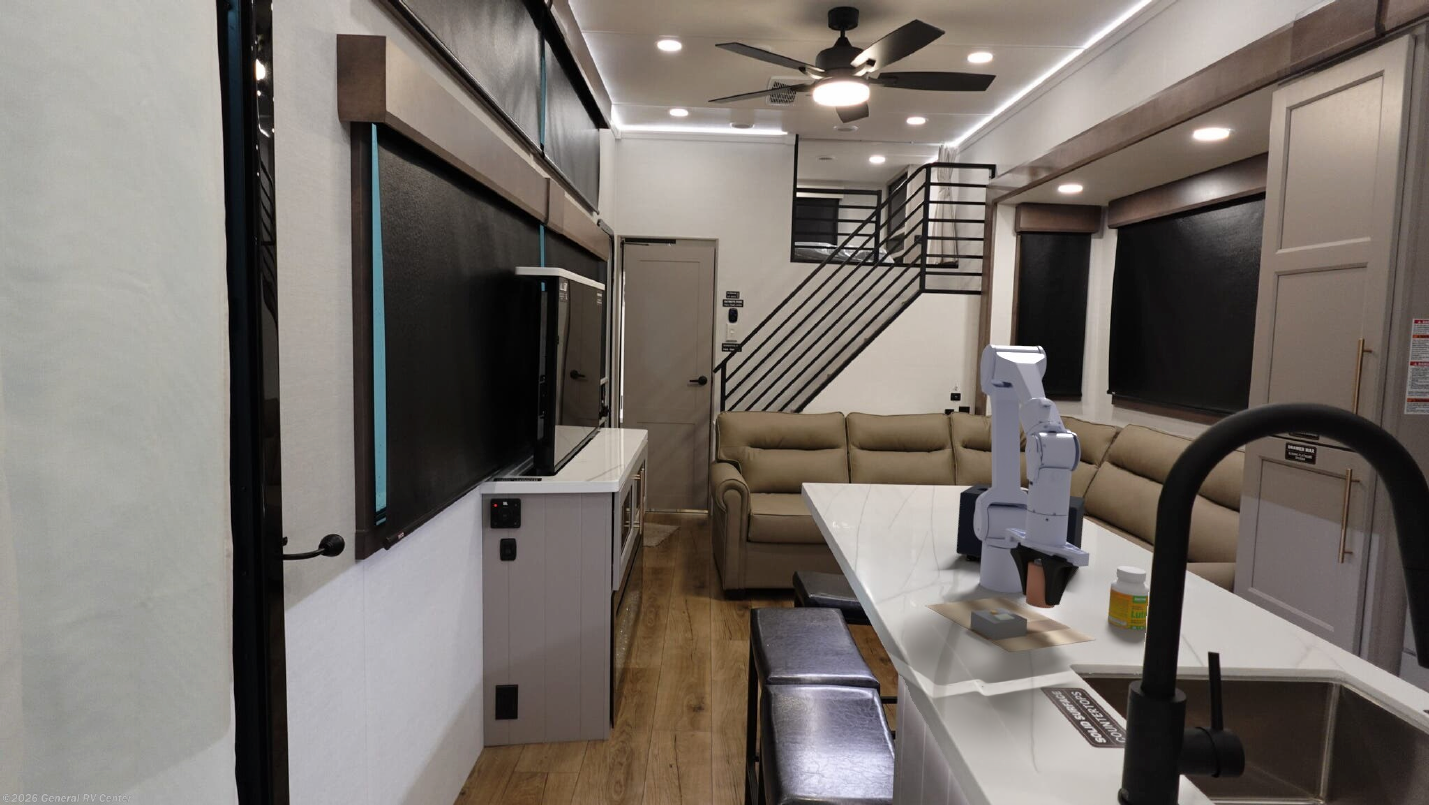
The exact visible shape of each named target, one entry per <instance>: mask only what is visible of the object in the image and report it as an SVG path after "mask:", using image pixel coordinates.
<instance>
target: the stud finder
mask: <svg viewBox="0 0 1429 805" xmlns="http://www.w3.org/2000/svg"><path fill="white" fill-rule="evenodd" d="M970 628H972V629H974V630H976V631H977V632H979V633H981V634H983V635H985V636H987V637H989V638H990V639H992V640H1000V639H1007V638H1015V637H1022V636H1026V631H1027V619H1025V618H1023V617H1021V616H1019V615H1017V614H1015V613H1013V612H1011V611H1009V610H1007V609H1004V608H997V609H988V610H980V611H971V624H970Z"/></svg>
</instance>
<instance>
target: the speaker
mask: <svg viewBox="0 0 1429 805" xmlns="http://www.w3.org/2000/svg"><path fill="white" fill-rule="evenodd" d="M991 487H992V484H991V485H990V484H982V483H975V484H974V485H972V486H969V487H968V488H966V489H965V490H963V491H961V492H960V493H959V505H958V509H959V510H958V522H957V523H958V524H957V538H956V551H955V552H956V554H959V555H964V556H966V558H967V561H970V562H976V561H977V558H979V559H981V555H982V540H979V539H978V537H977V536H976V535H975V531H974V513H975V507H976V500H977V498H978V497H979V496H980V495H981V494H982V493H984V492H985V491H987V490H988V489H990V488H991ZM1022 490H1023V491H1024V492H1025V493H1026V494H1028V491H1029V489H1028V490H1027V489H1022ZM1085 502H1086V498H1084V497H1081V496H1074V495H1070V499H1069V512H1068V525H1067V537H1066V542H1068V543H1070V544H1071V545H1073V546H1075V547H1077V548H1079V549H1081V550H1082V539H1083V528H1084V515H1085ZM989 506H1005V507H1019V506H1016V505H1007V504H990V505H989ZM1047 558H1052V556H1051V555H1048V554H1046V555H1045V557H1044V559H1047Z"/></svg>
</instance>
